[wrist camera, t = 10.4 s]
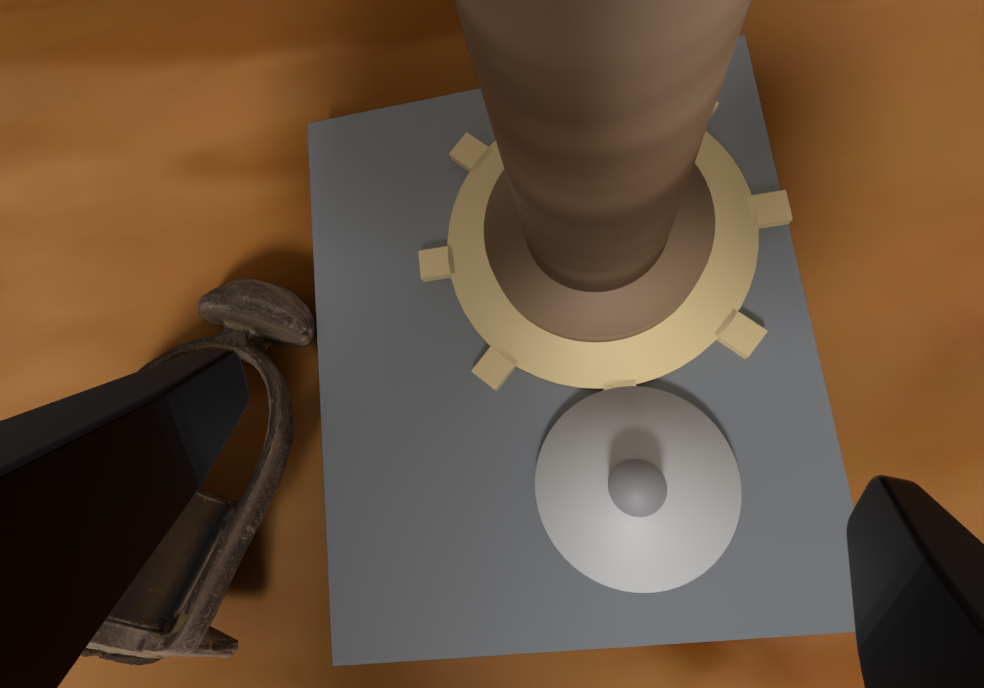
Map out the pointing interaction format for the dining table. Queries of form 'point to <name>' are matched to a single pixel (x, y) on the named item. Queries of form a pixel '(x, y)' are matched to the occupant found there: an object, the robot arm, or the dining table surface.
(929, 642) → the robot arm
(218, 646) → the brown curved metal piece
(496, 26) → the walnut spindle
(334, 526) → the gear board
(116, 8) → the dining table surface
